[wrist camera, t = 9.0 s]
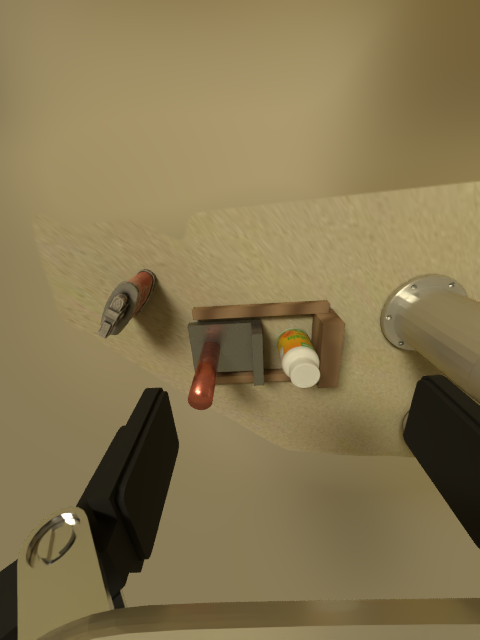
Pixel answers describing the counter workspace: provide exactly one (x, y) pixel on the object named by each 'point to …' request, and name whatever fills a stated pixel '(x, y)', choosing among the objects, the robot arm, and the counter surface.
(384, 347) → the counter surface
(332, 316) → the bench clamp
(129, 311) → the lighter
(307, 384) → the supplement bottle
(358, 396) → the counter surface
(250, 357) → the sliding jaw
